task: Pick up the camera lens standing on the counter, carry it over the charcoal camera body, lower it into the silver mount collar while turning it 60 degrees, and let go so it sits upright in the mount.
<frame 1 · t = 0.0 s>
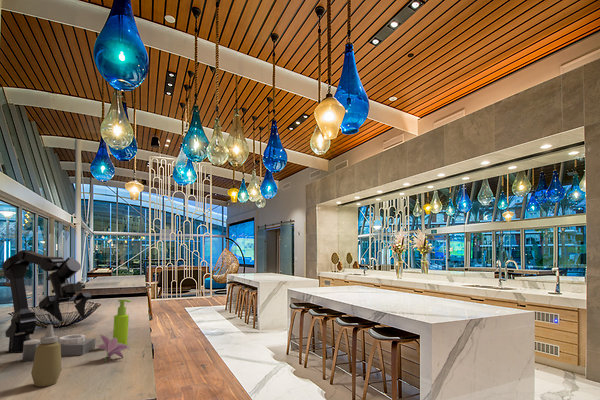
hand: (72, 319, 154), 15 cm above the worktop, tool tilted 35°, fingers open, 9 cm apart
lily: (111, 360, 151), on the worktop
soap dispenser: (120, 346, 172), on the worktop
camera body: (71, 351, 163), on the worktop
squeeze bottle: (45, 384, 123), on the worktop
lens: (30, 359, 151), on the worktop
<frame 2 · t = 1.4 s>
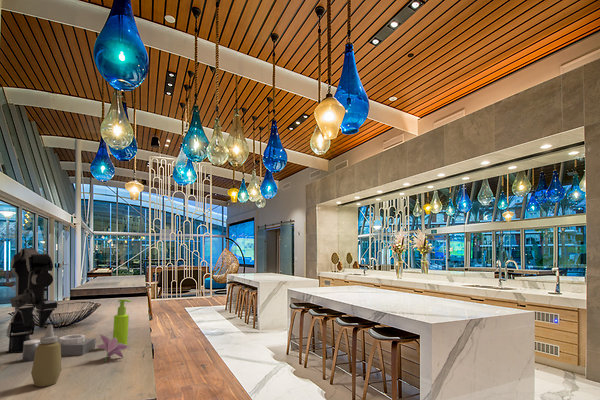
hand: (33, 326, 153), 12 cm above the worktop, tool pointing down, fingers open, 9 cm apart
nothing on the worktop moved.
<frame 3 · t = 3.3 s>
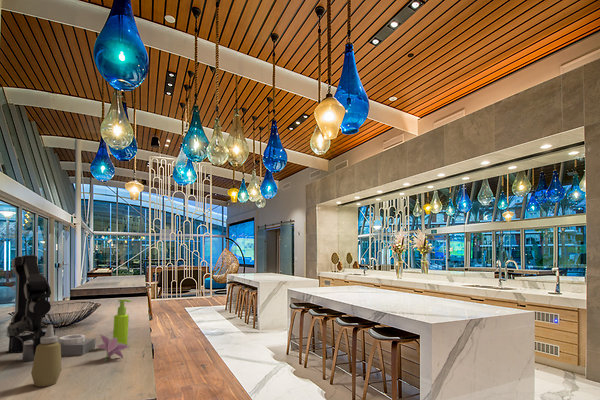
hand: (30, 354, 151), 2 cm above the worktop, tool pointing down, fingers closed on lens, 5 cm apart
lens: (30, 359, 151), on the worktop, touching gripper
everything else where it was.
when the fingers open (7 cm above the worktop, at t = 7.8 s): lens drops 1 cm, resting on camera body.
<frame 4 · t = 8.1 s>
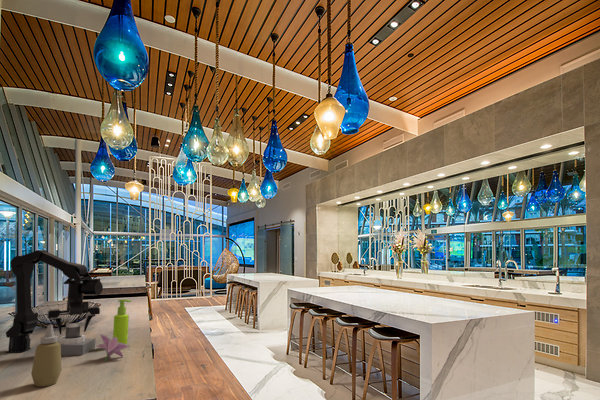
hand: (72, 333, 164), 7 cm above the worktop, tool pointing down, fingers open, 8 cm apart
lens: (72, 341, 163), point 4 cm above the worktop, touching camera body
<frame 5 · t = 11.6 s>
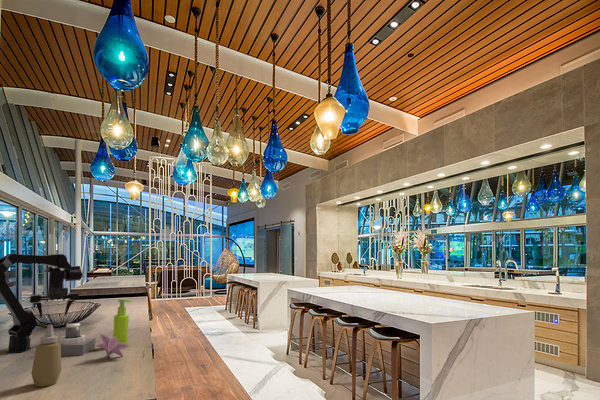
hand: (53, 317, 177), 12 cm above the worktop, tool pointing down, fingers open, 9 cm apart
at the end: lens 0.0 cm off-centre on the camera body, point 4.0 cm above the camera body's base; lens tilted 0°; the gripper is holding nothing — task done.
